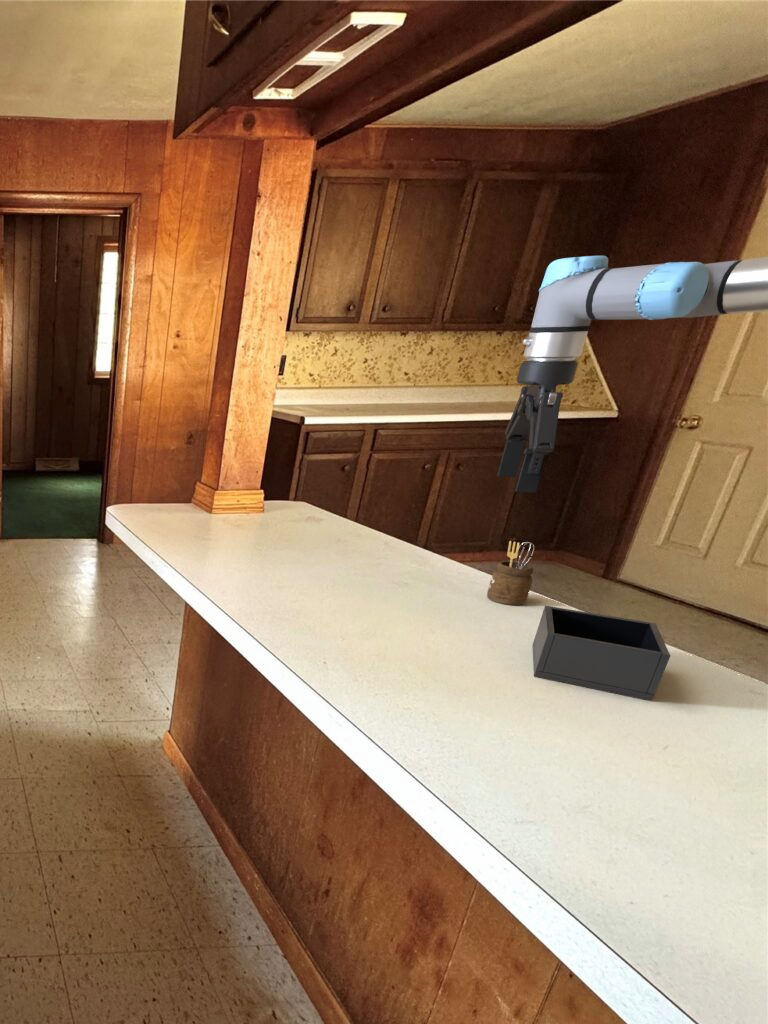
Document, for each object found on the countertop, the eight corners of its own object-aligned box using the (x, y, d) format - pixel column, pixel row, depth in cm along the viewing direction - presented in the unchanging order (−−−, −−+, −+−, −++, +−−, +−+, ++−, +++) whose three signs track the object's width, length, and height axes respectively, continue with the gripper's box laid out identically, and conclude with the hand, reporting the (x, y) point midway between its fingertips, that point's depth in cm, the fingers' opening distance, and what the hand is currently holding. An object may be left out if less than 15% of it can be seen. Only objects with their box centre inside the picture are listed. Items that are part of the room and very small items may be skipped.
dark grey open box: (639, 665, 99) (656, 623, 97) (652, 701, 90) (670, 655, 88) (532, 645, 107) (545, 605, 104) (533, 676, 97) (547, 633, 95)
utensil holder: (532, 601, 123) (551, 539, 118) (514, 608, 120) (534, 545, 115) (495, 592, 128) (513, 532, 123) (478, 598, 125) (495, 537, 120)
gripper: (504, 356, 123) (476, 469, 131) (543, 363, 103) (506, 497, 111) (555, 355, 120) (523, 471, 128) (606, 362, 100) (563, 500, 108)
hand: (515, 483), depth 119 cm, fingers open, 13 cm apart
